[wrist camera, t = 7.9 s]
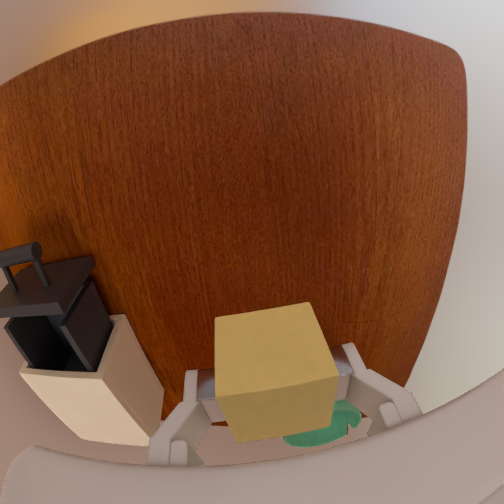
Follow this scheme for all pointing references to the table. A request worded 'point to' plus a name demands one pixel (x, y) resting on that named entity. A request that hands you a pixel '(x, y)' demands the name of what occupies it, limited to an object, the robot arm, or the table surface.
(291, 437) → the mug
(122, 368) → the beige cabinet housing
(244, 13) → the table surface
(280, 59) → the table surface
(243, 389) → the block
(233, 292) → the table surface
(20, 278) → the drawer
